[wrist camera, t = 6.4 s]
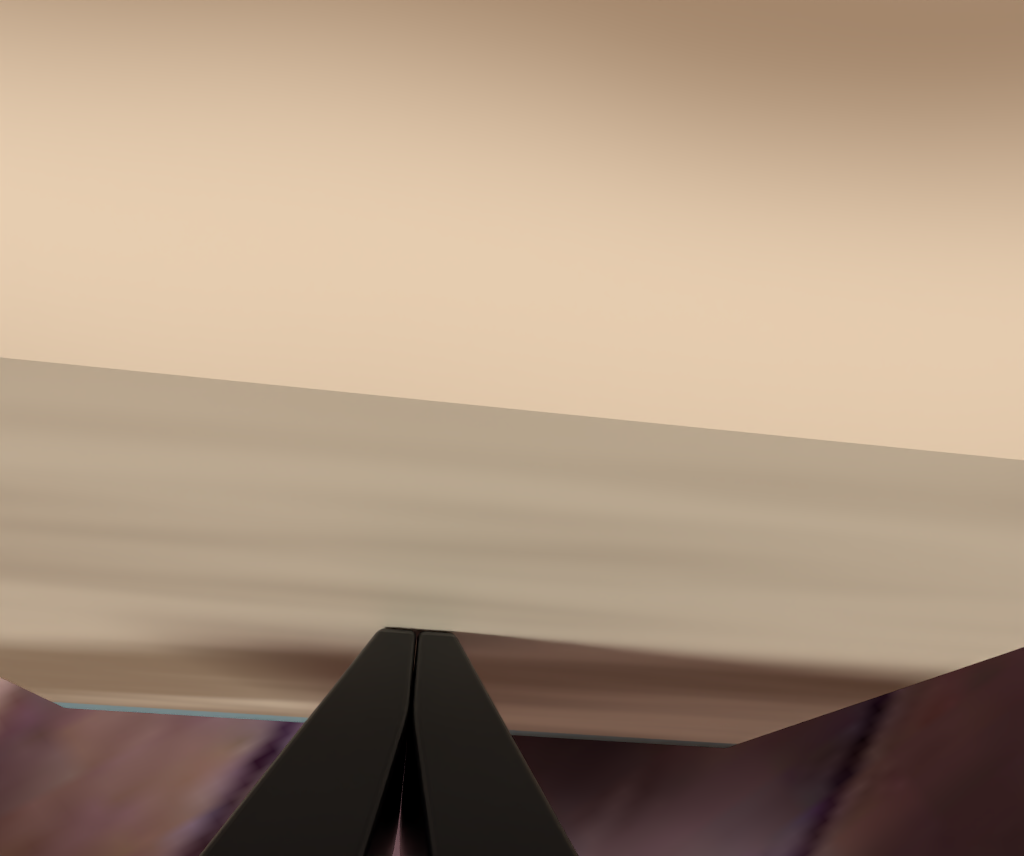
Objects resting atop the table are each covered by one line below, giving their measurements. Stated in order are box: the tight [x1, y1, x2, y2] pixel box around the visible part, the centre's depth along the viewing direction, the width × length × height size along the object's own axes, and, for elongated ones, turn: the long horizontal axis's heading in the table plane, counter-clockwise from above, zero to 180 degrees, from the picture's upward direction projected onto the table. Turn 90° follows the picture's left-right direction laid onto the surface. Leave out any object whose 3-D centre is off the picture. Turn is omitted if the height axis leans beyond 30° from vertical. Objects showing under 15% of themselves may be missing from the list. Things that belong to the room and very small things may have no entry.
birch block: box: [0, 0, 1024, 748], centre depth 11 cm, size 5×12×12 cm, turn 86°
